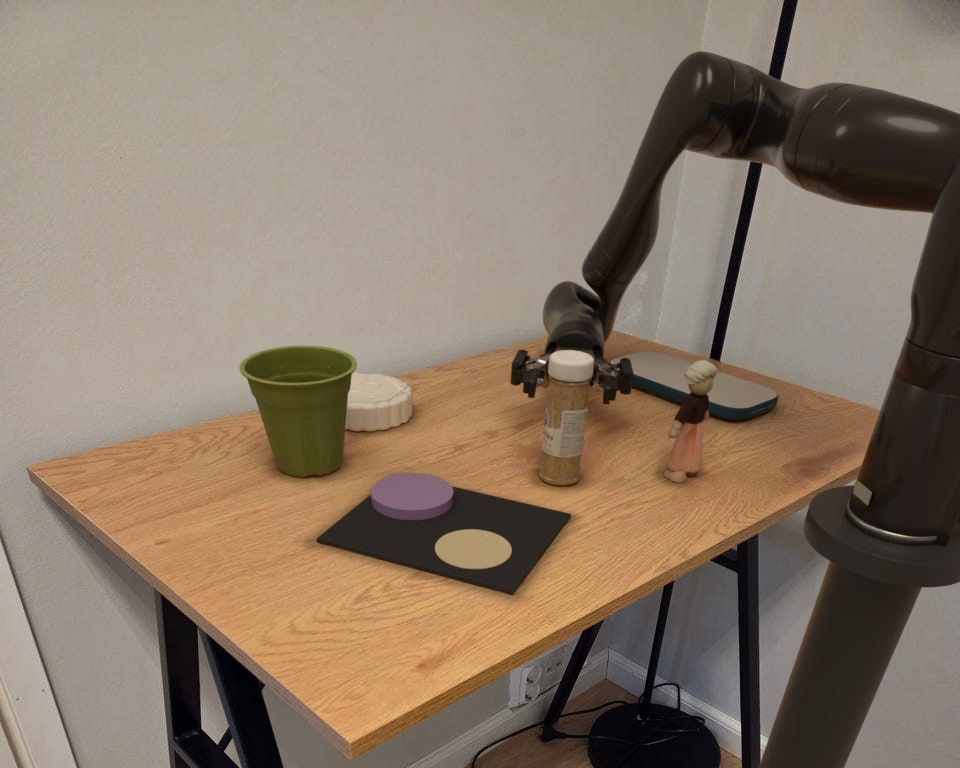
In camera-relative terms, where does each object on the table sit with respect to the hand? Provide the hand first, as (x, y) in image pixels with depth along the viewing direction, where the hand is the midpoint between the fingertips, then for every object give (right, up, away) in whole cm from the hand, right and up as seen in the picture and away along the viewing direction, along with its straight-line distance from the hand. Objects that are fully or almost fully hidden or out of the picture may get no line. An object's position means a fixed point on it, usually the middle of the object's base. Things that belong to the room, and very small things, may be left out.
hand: (569, 392), depth 92 cm
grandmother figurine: (+13, -9, +1) cm, 16 cm away
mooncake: (-25, +1, +11) cm, 27 cm away
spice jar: (-1, -10, -2) cm, 10 cm away
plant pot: (-29, -9, -2) cm, 30 cm away
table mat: (-13, -17, -12) cm, 25 cm away
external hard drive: (+19, +7, +22) cm, 30 cm away
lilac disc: (-17, -14, -8) cm, 23 cm away
